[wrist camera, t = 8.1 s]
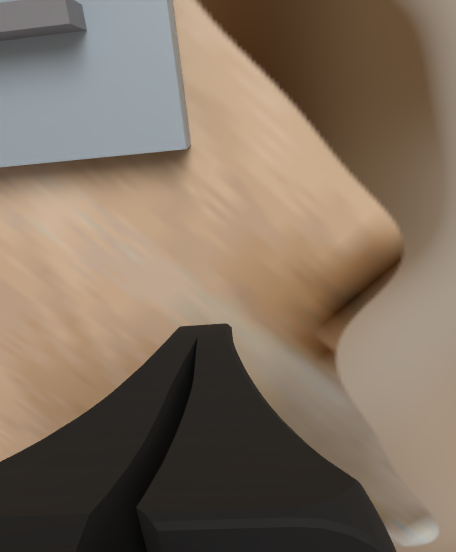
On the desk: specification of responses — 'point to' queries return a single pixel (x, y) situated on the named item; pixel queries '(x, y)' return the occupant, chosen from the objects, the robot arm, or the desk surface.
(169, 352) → the robot arm
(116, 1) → the sliding latch plate
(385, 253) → the desk surface
